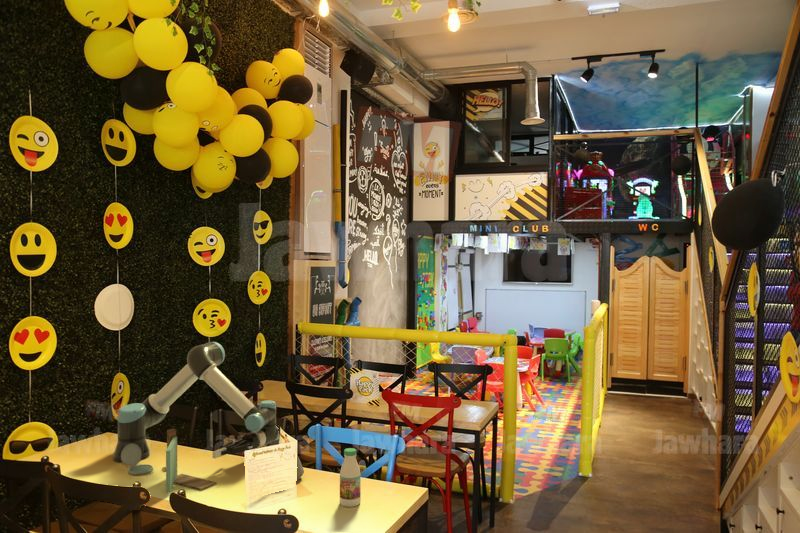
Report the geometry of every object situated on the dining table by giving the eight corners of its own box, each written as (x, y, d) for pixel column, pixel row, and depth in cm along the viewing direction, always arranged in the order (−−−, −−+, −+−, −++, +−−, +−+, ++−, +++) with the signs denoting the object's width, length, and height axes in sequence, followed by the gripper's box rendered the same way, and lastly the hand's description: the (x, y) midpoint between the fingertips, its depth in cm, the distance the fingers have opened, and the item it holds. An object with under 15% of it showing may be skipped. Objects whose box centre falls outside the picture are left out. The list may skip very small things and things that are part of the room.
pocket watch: (139, 440, 266) (161, 446, 258) (139, 465, 266) (161, 471, 258) (118, 446, 257) (140, 452, 250) (118, 472, 257) (140, 478, 250)
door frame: (162, 480, 247) (162, 431, 247) (177, 474, 254) (177, 427, 254) (201, 490, 237) (201, 439, 236) (216, 484, 244) (216, 434, 243)
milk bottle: (339, 499, 228) (339, 446, 228) (360, 498, 229) (360, 446, 228) (339, 507, 220) (339, 453, 220) (360, 507, 221) (360, 452, 221)
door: (168, 475, 250) (168, 436, 249) (177, 474, 250) (177, 436, 250) (160, 492, 231) (160, 451, 231) (170, 492, 231) (170, 450, 231)
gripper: (264, 450, 269) (225, 466, 249) (242, 446, 276) (202, 461, 255) (264, 434, 269) (225, 448, 249) (242, 430, 276) (202, 443, 255)
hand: (213, 455), depth 252 cm, fingers closed
